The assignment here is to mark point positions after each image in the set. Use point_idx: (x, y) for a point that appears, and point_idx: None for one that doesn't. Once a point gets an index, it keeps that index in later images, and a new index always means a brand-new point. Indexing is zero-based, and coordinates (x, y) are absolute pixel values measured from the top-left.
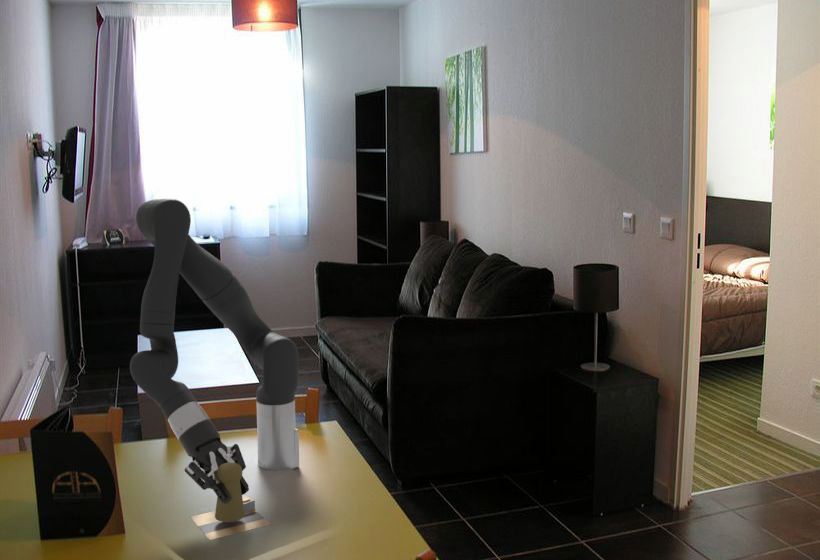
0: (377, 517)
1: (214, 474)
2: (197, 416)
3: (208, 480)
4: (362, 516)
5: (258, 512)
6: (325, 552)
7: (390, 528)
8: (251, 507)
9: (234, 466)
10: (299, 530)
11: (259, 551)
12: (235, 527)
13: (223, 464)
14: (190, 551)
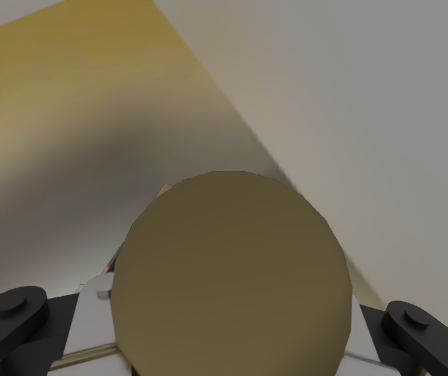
0: (26, 46)
1: (365, 352)
2: None
3: (430, 328)
4: (29, 67)
5: (112, 258)
6: (198, 65)
7: (68, 20)
8: None
9: (238, 200)
10: (142, 136)
11: (261, 154)
12: None
13: (271, 358)
14: (360, 287)
